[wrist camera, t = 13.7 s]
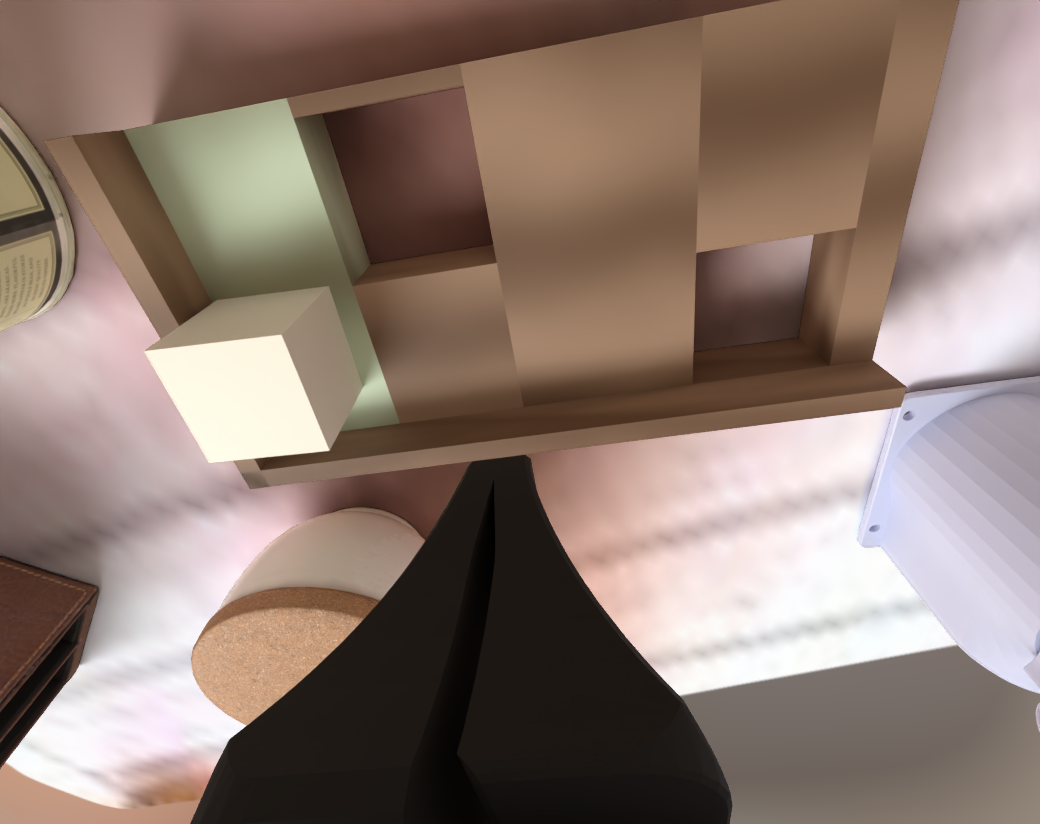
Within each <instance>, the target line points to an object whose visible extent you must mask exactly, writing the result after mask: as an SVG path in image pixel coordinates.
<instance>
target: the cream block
mask: <svg viewBox="0 0 1040 824" xmlns="http://www.w3.org/2000/svg"><path fill="white" fill-rule="evenodd" d="M144 352H145V354H146V356H147V357H148V359H149V361H150V362H151V364H152V366H153V368H154V369H155V371H156V373H157V374H158V376H159V378H160V380H161V381H162V383H163V385H164V386H165V388H166V390H167V391H168V393H169V395H170V397H171V398H172V400H173V402H174V403H175V405H176V407H177V409H178V410H179V412H180V414H181V415H182V417H183V419H184V421H185V422H186V424H187V426H188V427H189V429H190V431H191V432H192V434H193V436H194V438H195V439H196V441H197V443H198V444H199V446H200V448H201V450H202V451H203V453H204V455H205V456H206V458H207V460H208V461H209V463H215V462H225V461H234V460H244V459H254V458H264V457H274V456H283V455H293V454H303V453H313V452H323V451H330V449H331V447H332V445H333V443H334V442H335V440H336V438H337V436H338V434H339V432H340V430H341V428H342V426H343V424H344V423H345V421H346V419H347V417H348V415H349V413H350V411H351V409H352V407H353V406H354V404H355V402H356V400H357V398H358V396H359V394H360V392H361V390H362V389H363V385H362V383H361V380H360V377H359V374H358V371H357V368H356V365H355V362H354V359H353V356H352V353H351V350H350V347H349V344H348V341H347V338H346V336H345V333H344V330H343V327H342V324H341V321H340V318H339V315H338V312H337V309H336V306H335V303H334V300H333V297H332V294H331V292H330V289H329V286H325V287H317V288H309V289H301V290H293V291H285V292H277V293H269V294H262V295H254V296H246V297H238V298H230V299H222V300H216V301H215V302H213V303H212V304H211V305H209V306H208V307H206V308H205V309H203V310H202V311H201V312H199V313H198V314H196V315H195V316H193V317H192V318H191V319H189V320H188V321H186V322H185V323H183V324H182V325H181V326H179V327H178V328H176V329H175V330H173V331H172V332H171V333H169V334H168V335H166V336H165V337H163V338H162V339H161V340H159V341H158V342H156V343H155V344H153V345H152V346H151V347H149V348H148V349H146V350H145V351H144Z"/></svg>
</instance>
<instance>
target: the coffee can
mask: <svg viewBox="0 0 1040 824" xmlns="http://www.w3.org/2000/svg"><path fill="white" fill-rule="evenodd" d="M74 242H75V239H74V232H73V228H72V224H71V220H70V216H69V212H68V210H67V207H66V204H65V201H64V199H63V196H62V194H61V192H60V190H59V188H58V185H57V183H56V181H55V179H54V177H53V175H52V172H51V171H50V170H49V169H48V167H47V166H46V164H45V163H44V161H43V160H42V158H41V157H40V156H39V154H38V153H37V151H36V150H35V148H34V147H33V145H32V144H31V142H30V141H29V140H28V138H27V137H26V136H25V134H24V133H23V132H22V131H21V130H20V128H19V127H18V126H17V125H16V124H15V122H14V121H13V120H12V119H11V118H10V117H9V115H8V114H7V113H6V112H5V111H4V110H3V109H2V108H1V107H0V331H3V330H5V329H7V328H9V327H11V326H14V325H16V324H19V323H22V322H25V321H28V320H31V319H33V318H36V317H38V316H40V315H41V314H43V313H45V312H46V311H48V310H50V309H51V308H52V307H53V306H54V305H55V304H56V303H57V302H58V301H59V300H60V299H61V297H62V296H63V295H64V293H65V291H66V290H67V287H68V284H69V283H70V281H71V279H72V277H73V267H74V258H75V248H74Z"/></svg>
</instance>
